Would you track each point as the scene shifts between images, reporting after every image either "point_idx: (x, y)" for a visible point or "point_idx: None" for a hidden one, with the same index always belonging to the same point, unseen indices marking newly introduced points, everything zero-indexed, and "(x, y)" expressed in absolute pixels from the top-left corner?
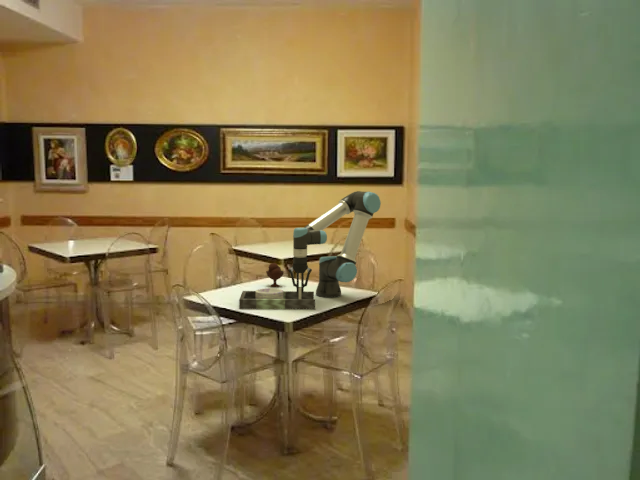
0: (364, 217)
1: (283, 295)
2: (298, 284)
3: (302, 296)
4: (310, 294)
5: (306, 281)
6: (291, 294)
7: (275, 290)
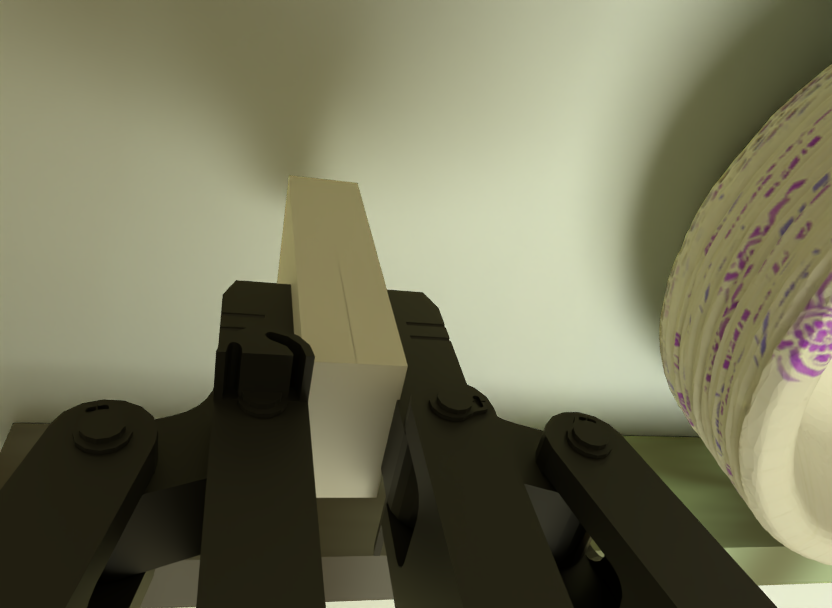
0: None
1: None
2: (439, 465)
3: None
4: None
5: (11, 600)
6: None
7: (819, 497)
